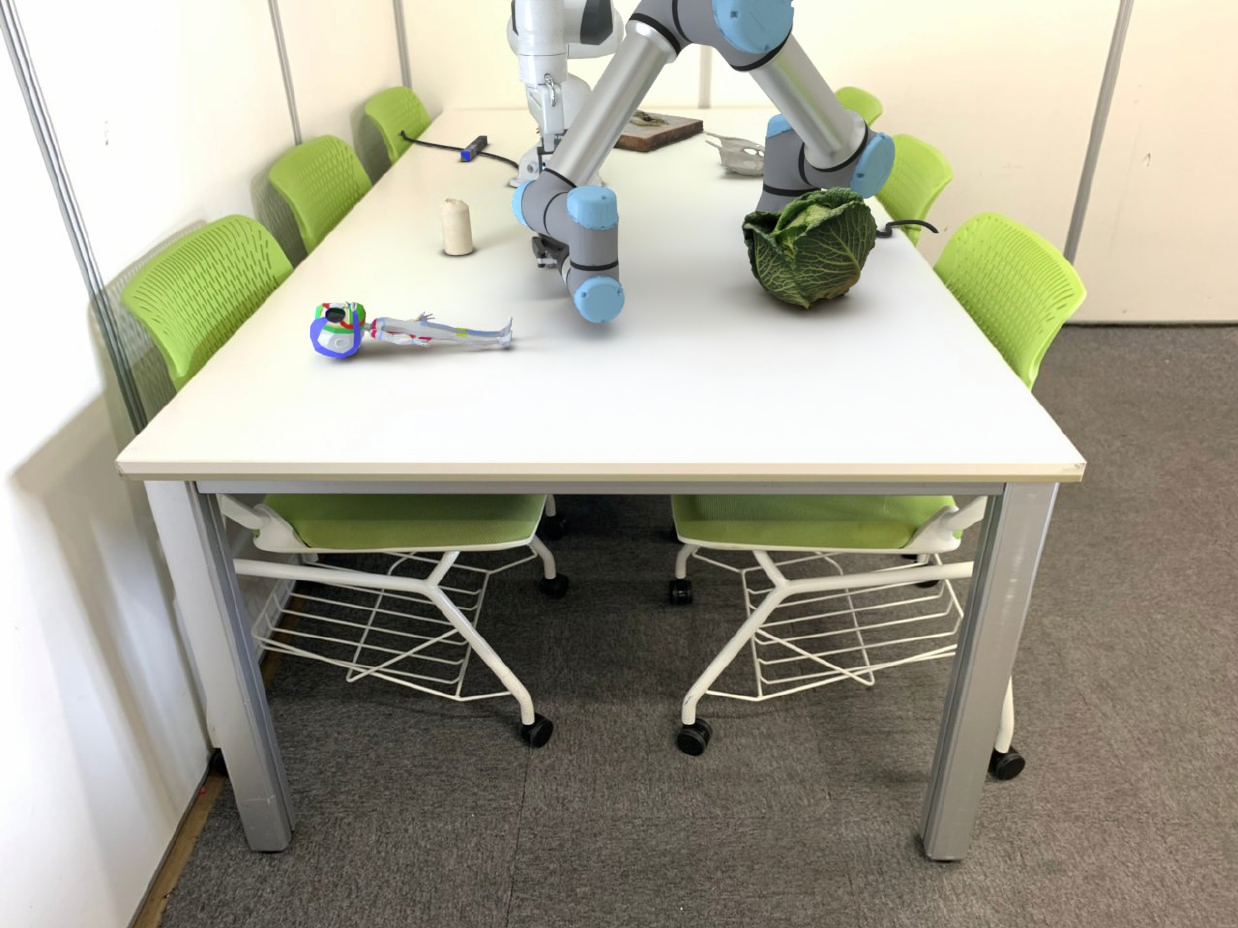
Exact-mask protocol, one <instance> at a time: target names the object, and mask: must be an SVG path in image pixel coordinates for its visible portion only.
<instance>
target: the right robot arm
mask: <svg viewBox="0 0 1238 928" xmlns="http://www.w3.org/2000/svg"><path fill="white" fill-rule="evenodd" d="M793 1H794V0H640V1H639V3H638V4H637V6H636V7H635V9H634V10H633V12H632V13H631V14H630V17H629V18H628V20H627V21H626V23H625V24H624V31H625V34H626V35H625V36H624V37H623V40H622V43H621V45H620V46H619V48H618V50H617V51H616V52H615V53H614V55H613V56H612V58H611V59H610V61H609V62H608V64H607V66H606V68H605V69H604V71H603V72H602V74H601V75H600V77H599V79H598V80H597V82H596V84H595V85H594V86H593V89H591V90H592V92H591V93H590V95H589V97H588V98H587V100H586V101H585V103H584V105H583V106H582V108H581V109H580V111H579V113H578V114H577V116H576V118H575V119H574V121H573V122H572V124H571V126H570V127H569V129H568V130H567V132H566V134H565V135H564V137H563V139H562V140H561V142H560V143H559V145H558V147H557V148H556V150H555V151H554V153H553V155H552V156H551V158H550V160H549V161H548V163H547V164H546V166H545V168H544V170H543V171H542V172H541V174H540V175H539V177H538V179H537V180H528V181H525V182H523V183H522V184H521V185H519V186H518V187H516V188H515V190H514V192H513V194H512V198H511V210H512V213H513V216H514V218H515V219H516V220H517V221H518V223H520V224H522V225H523V226H525V227H527V228H528V229H529V230H531V232H536V233H537V232H539V237H537V235H533V236H532V237H531V247H532V252H533V254H534V256H535V258H536V260H537V268H538V269H545V267H546V266H550V265H549V264H553V266H554V267H553V268H556V269H557V270H558V273H559V275H560V277H561V279H562V281H563V282H564V284H565V286H566V288H567V291H568V292H569V294H570V297H571V299H572V301H573V305H574V306H575V308H576V310H577V312H579V313H580V315H581V316H582V317H583V318H584V319H585V320H587V321H588V322H591V323H593V324H606V323H609V322H611V321H613V320H614V319H616V318H617V317H618V316H620V314H621V313H622V311H623V309H624V307H625V302H626V297H625V292H624V288H623V287H622V286H623V285H622V284H621V283H620V261H619V221H620V216H619V212H618V200H617V195H616V193H615V191H614V190H613V189H611V188H609V187H607V186H601V187H598V186H589V185H590V184H591V182H592V180H593V179H594V177H595V176H596V174H597V172H598V173H599V171H600V169H601V167H602V166H603V165H604V163H605V161H606V160H607V158H608V156H609V155H610V153H611V152H612V150H613V148H615V147H614V145H615V144H616V142H617V140H618V139H619V137H620V136H621V134H622V132H623V131H624V129H625V128H626V126H627V124H628V123H629V121H630V120H631V118H632V116H633V115H634V113H635V112H636V110H638V109H639V107H640V105H641V104H642V102H643V100H644V99H645V98H646V96H647V94H648V93H649V91H650V89H651V88H652V86H653V84H655V81H656V80H657V78H658V76H659V75H660V73H661V72H662V70H663V68H665V65H669V64H673V63H675V62H676V60H677V58H678V57H679V55H680V53H681V52H682V51H683V50H684V49H686V47H688V46H689V45H692V44H695V45H702V46H708V47H712V48H714V49H715V50H716V51H717V52H718V53H719V54H720V56H721V57H722V58H723V59H724V60H725V61H726V63H727V64H728V65H729V66H730V68H731V69H732V70H734V71H735V72H738V73H744V74H745V73H748V74H749V75H750V77H751V78H752V79H753V81H755V82H756V85H758V86H759V88H760V89H761V91H762V92H763V93H764V94H765V95H766V96H767V98H768V99H769V100H770V101H771V103H772V104H773V105H774V106H775V108H776V109H777V110H778V111H779V113H778V114H775V115H773V116H772V117H770V118H769V120H768V122H767V125H766V126H767V127H766V132H765V133H766V135H765V137H764V147H765V155H764V154H763V156H764V173H763V174H762V175H763V177H762V192H761V195H760V197H759V200H758V202H757V205H756V207H755V209H754V212H755V211H758V210H762V211H774V212H777V211H779V210H781V209H784V208H785V207H786V205H787V204H789V203H791V202H792V201H793V200H795V199H796V198H798V197H800V196H802V195H804V194H806V193H809V192H814V191H822V190H829V189H831V188H832V187H834V188H836V187H840V188H852V190H853V191H854V192H856V193H859V194H861V195H862V197H863V200H868V199H871V198H873V197H874V196H876V195H877V194H878V193H879V192H880V191H881V190H882V189H883V188H884V187H885V185H886V183H887V182H888V180H889V177H890V176H891V174H892V172H893V167H894V163H895V159H896V144H895V142H894V140H893V138H892V137H891V136H890V135H888V134H886V133H884V132H883V131H879V132H876V131H874V130H872V129H871V128H870V126H869V124H867V122H866V120H865V118H864V117H863V116H862V115H861V114H860V113H858V111H856V110H853V109H847V108H845V107H844V105H843V104H842V103H841V101H840V99H839V98H838V97H837V96H836V94H835V93H834V91H833V90H832V89H831V87H830V86H829V84H828V83H827V81H826V80H825V78H824V77H823V76H822V75H821V73H820V71H819V70H818V68H817V67H816V65H815V64H814V63H813V62H812V60H811V58H810V57H809V56H808V54H807V53H806V51H805V50H804V48H803V47H802V45H801V44H800V43H799V41H798V40H797V38H796V37H795V36H794V35H793V29H794V18H795V17H794V16H795V7H794V6H792V2H793ZM904 225H916V226H922V227H924V228H926V229H928V230H929V231H931V233H932V234H940V232H939V230H938V229H937V228H936V227H935V226H934V225H933V224H931V223H929V222H927V221H925V220H921V219H902V220H894V221H893V220H892V221H889V222H886V223H885V230H886V231H881V230H879V229H878V228H877V229H876V234H875V236H878V237H890V236H891V235H893V229H892V227H896V226H904ZM551 237H552V238H551ZM553 238H554V239H553ZM555 239H556V240H558V241H560V242H563V243H559V242H558V241H556V240H555ZM566 244H567V245H566ZM548 253H549V254H550V255H552V257H551V256H550V255H548Z"/></svg>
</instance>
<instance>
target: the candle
mask: <svg viewBox="0 0 1238 928" xmlns="http://www.w3.org/2000/svg"><path fill="white" fill-rule="evenodd" d="M470 213H471V212H470V206H469V205H468V204H467V203H466V202H464V201H463V200H462V199H456V198H446V200H444V202H443V203H442V204H441V206H440V207H439V214H440V215H439V216H440V223H441V230H442V231H441V232H442V238H443V239H442V240H443V247H444V252H445V254H447V255H451V256H463V255H467V254H470V253H472V252H473V250H474V244H473V243H474V242H473V233H472V225H471V224H472V223H471V215H470Z"/></svg>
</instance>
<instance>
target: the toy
mask: <svg viewBox="0 0 1238 928" xmlns="http://www.w3.org/2000/svg"><path fill="white" fill-rule="evenodd" d="M344 302H345V303H343V302H323V303H321V304H319V305H318V306H317V307H316V308H315V310H314V313H313V315H312V317H311V320H310V322H309V323H308V335H307V336H308V339H309V340H310V343H311V344H312V347H313V349H314V351H315V352H317V353H318V354H320V355H323V356H325V357H328V358H329V357H330V358H335V359H343V360H344V359H345V358H347V357H350V356H352V355H354V354H355V353H356V352H357V350H359V348H360V347H361V345H362V340H363V338H364V337H365V332H368V334H369V336H370V338H372V339H374V340H383V341H385V342H389V343H393V344H396V345H402V346H403V345H404V346H405V345H406V346H407V345H416V346H422V347H425V348H429V346H431V344H430V343H428V342H430V341H432V340H436V341H446V342H447V341H448V342H456V343H457V342H458V343H462V344H465V345H467V346H471V347H472V346H473V347H477V346H478V347H480V346H481V347H482V346H490V345H491V346H492V345H501V346H503V347H506V348H508V347H510V344H511V342H513V341H512V340H513V330H512V325H513V317H512V316H510V318H509V321H508V323H507V325H506V326H505V327H503V328H502V329H500V330H489V331H488V330H478V329H471V328H464V327H454V326H450V325H447V324H443V323H436V322H431V321H429V320H436V317H430V316H433V313H430V314H427V315H425V314H426V311H423V312H422V313H420V314H419V315H418V317H417V318H412V319H407V320H404V319H397V318H393V317H389V316H380V317H375V318H374V319H373V320H372V322H371V323H370V322H366V321H367V319H366V318H367V312H366V310H365V309H366V308H365V307H364V305H363V304H361V303H359V302H356V301H352V302H351V303H350V302H348V301H346V300H345V301H344ZM399 335H406V336H408V337H405V336H404V337H403V336H399ZM409 337H410V338H409Z"/></svg>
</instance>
